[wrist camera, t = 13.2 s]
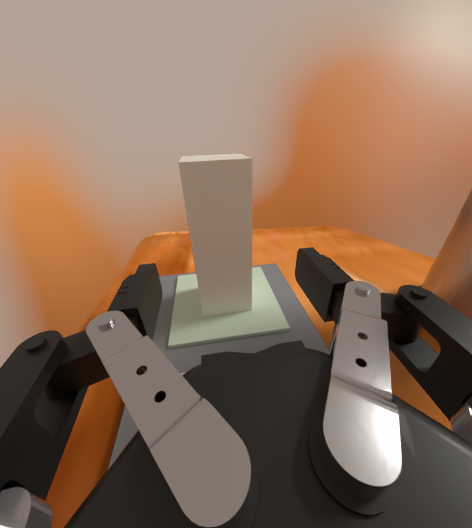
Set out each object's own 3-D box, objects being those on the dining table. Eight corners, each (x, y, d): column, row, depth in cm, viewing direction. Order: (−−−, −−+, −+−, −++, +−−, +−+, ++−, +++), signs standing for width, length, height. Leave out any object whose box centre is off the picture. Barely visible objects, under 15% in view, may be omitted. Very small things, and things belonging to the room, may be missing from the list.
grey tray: (162, 285, 30) (157, 266, 28) (275, 272, 31) (276, 254, 30) (14, 908, 6) (-75, 1016, 4) (522, 704, 7) (593, 726, 6)
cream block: (201, 287, 26) (182, 156, 18) (242, 281, 26) (239, 153, 19) (202, 317, 21) (178, 162, 14) (251, 309, 22) (252, 158, 15)
